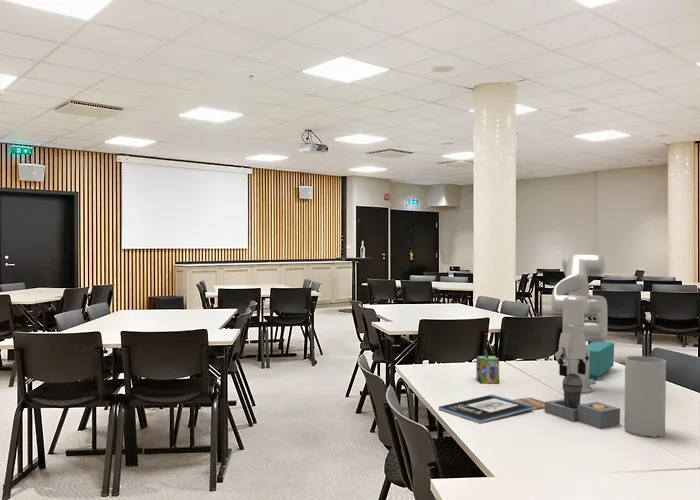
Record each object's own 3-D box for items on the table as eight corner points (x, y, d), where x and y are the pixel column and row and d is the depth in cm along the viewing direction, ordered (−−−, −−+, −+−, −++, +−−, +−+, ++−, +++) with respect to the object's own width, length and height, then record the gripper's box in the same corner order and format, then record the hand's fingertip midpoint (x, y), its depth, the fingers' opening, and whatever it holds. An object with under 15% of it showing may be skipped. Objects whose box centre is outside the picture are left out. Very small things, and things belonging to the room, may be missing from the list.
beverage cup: (584, 418, 217) (584, 364, 217) (563, 416, 219) (564, 363, 219) (580, 412, 224) (581, 360, 224) (560, 411, 226) (561, 359, 226)
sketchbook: (438, 410, 226) (438, 404, 226) (491, 398, 243) (491, 393, 243) (480, 423, 209) (480, 417, 209) (534, 409, 226) (534, 404, 226)
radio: (593, 368, 312) (593, 340, 312) (614, 370, 306) (614, 342, 306) (575, 379, 285) (576, 348, 285) (598, 382, 279) (598, 350, 279)
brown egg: (597, 414, 214) (597, 403, 214) (606, 417, 210) (607, 406, 210) (589, 416, 212) (590, 405, 212) (599, 419, 208) (599, 407, 208)
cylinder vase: (663, 440, 192) (664, 364, 192) (622, 433, 199) (622, 360, 199) (666, 430, 203) (667, 358, 203) (626, 424, 210) (627, 354, 210)
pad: (530, 398, 245) (530, 397, 245) (555, 406, 233) (555, 405, 233) (504, 402, 239) (504, 400, 239) (529, 410, 226) (529, 409, 226)
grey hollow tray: (569, 408, 231) (569, 393, 231) (621, 425, 209) (621, 408, 209) (544, 412, 225) (544, 396, 225) (596, 429, 203) (596, 412, 203)
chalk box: (499, 383, 272) (499, 352, 272) (479, 383, 272) (480, 351, 272) (495, 379, 281) (495, 348, 281) (475, 379, 282) (476, 348, 282)
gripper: (581, 327, 229) (580, 371, 228) (548, 329, 221) (548, 374, 221) (597, 329, 222) (596, 375, 222) (564, 331, 214) (563, 378, 214)
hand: (572, 374), depth 221 cm, fingers open, 9 cm apart
